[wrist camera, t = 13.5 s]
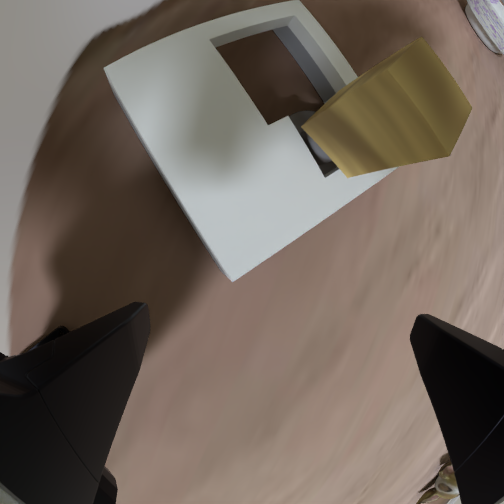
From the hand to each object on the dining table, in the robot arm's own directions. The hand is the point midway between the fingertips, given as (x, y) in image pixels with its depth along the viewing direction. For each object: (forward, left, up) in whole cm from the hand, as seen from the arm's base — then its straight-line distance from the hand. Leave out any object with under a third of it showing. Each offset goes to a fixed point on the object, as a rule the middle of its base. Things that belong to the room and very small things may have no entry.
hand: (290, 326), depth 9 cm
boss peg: (+10, +4, -12) cm, 16 cm away
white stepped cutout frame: (+7, +8, -12) cm, 16 cm away
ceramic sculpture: (+12, -57, -12) cm, 59 cm away
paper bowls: (+62, +11, -12) cm, 64 cm away
